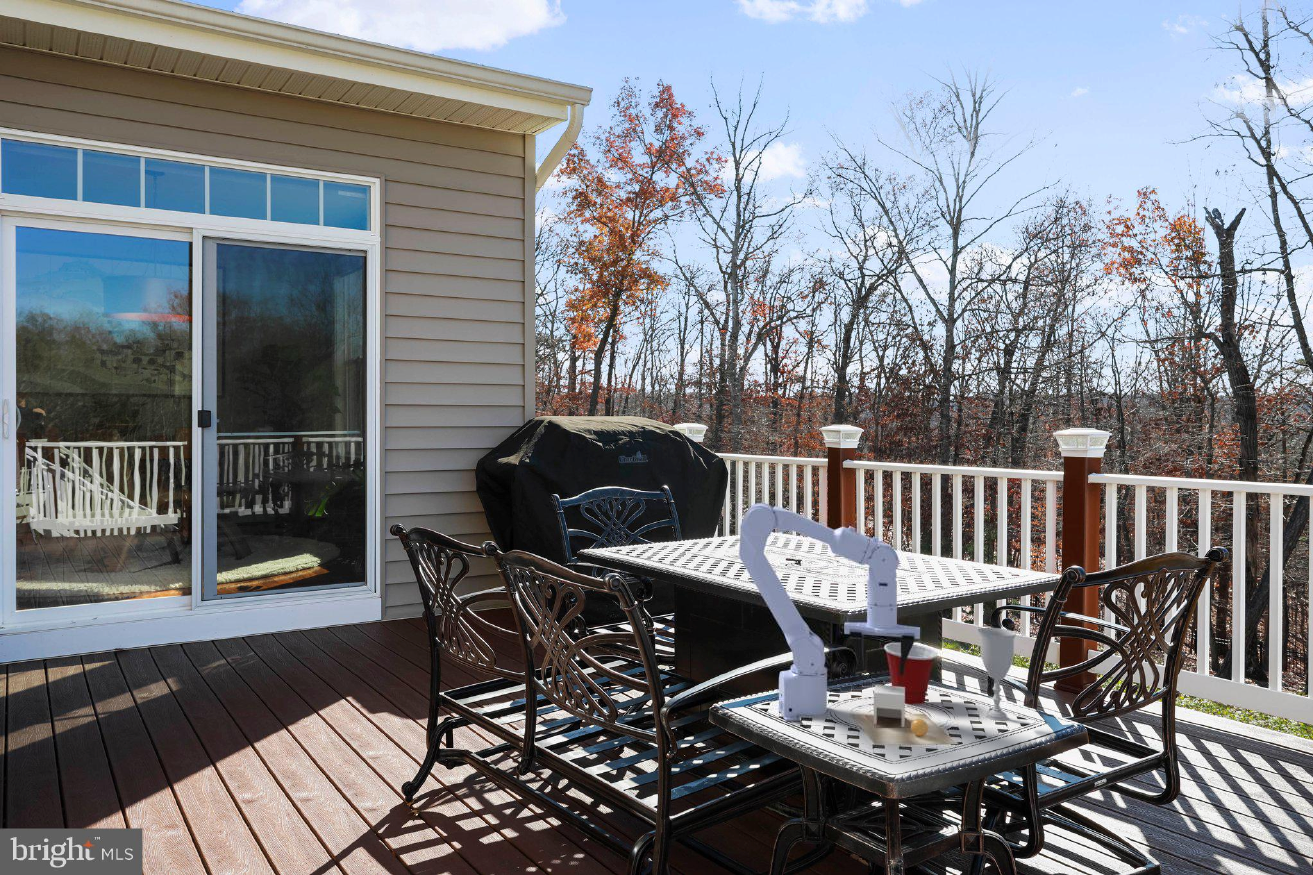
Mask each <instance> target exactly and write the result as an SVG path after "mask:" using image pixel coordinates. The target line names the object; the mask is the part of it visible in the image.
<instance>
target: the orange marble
mask: <svg viewBox="0 0 1313 875" xmlns="http://www.w3.org/2000/svg"><path fill="white" fill-rule="evenodd" d="M911 730H912V732H913V733H914V734H915V735H917V736H923V735H925V734H926V733H927V731H928V726H927V723H926V722H925V721H924V720H922V719H915V720H914V721H913V722H912V723H911Z"/></svg>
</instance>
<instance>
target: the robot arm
mask: <svg viewBox="0 0 1313 875" xmlns="http://www.w3.org/2000/svg"><path fill="white" fill-rule="evenodd" d="M775 528H776V533H784V532H790V531H792V532H795V533H797V534H801V535H803V536H806V537H809V538H811V539H813V540H817V541H819V542H822V543H824V544H827V545H828V546H829V548H830V551H831V553H832V554H834V555H837V556H838V557H841V558H843V559H846V560H849V561H851V562H854V563H856V564H858V565H861V566H864V565H868V579H867V580H866V584H867V590H866V592H867V595H866V596H867V598H866V600H867V601H866V603H867V604H866V611H867V612H866V614H867V616H866V622H845V623H844V624H843V625H844V627H843V628H844V629H843V630H844V634H845V635H849V640H850V643H851V645H852V647H853V650H854V652H855V655H856V658H857V662H858V667H859V672H860V673H861V672H862V673H864V671H865V658H864V657H865V656H864V640H865V639H864V637H865V636H864V635H868V636H881V637H882V636H885V637H896V638H897V637H898V638H900V643H901V663H900V675H904V667H905V663H906V660H907V657H908V655H909V652H910V650H911V648H912V646H913V644H914V645H915V640H920V639H921V627H918V626H909V625H901V624H898V623H897V618H898V617H897V616H898V615H897V614H898V613H897V612H898V610H897V609H898V581H897V569H898V568H899V565H900V560H899V557H898V554H897V551H896V550H895V549H894V548H893V547H892V546H891V545H890V544H889V543H886V542H885V541H883V540H879V538H878V537H875V536H873V537H869V536H868V535H865V534H862V533H859V532H857V531H856V528H855V527H853V526H850V525H849V527H848V528H847V527H845V526H841V527H839V528H836V529H833V528H831V527H828V526H826V525H824V524H821V523H819V522H817V521H815V520H812V519H810V518H808V517H806V516H804V515H802V514H799V513H797V512H794V511H792V510H789V509H785V508H783V507H780V506H772V505H770V504H769V503H766V502H757V503H754V504H753V505H752V506H751V507H750V508H749V509H747V511H746V513H745V514H744V516H743V519H742V521H741V523H740V527H739V529H740V530H739V531H740V532H739V536H740V537H739V549H738V550H739V551H738V552H739V553H738V557H739V559H740V561H741V562H742V564H743V567H745V569H746V571H747V573H748V574H749V576H750V577H751V580H752V581H753V583H754V584H755V586H756V588H757V589H758V592H759V593H760V595H761V597H762V598H763V600H764V601H765V603H766V606H767V607H768V609H769V610H770V612H771V613H772V616H773V617H774V619H775V621H776V623H777V624H778V626H779V627H780V628H781V630H782V633H783V634H784V637H785V640H786V642H787V645H788V646H789V648H790V650H791V653H792V660H793V664H792V665H790V669H788V670H783V671H780V672H779V676H778V708H777V709H778V710H779V712H780V714H781V716H782V718H783V719H784V721H787V722H789V721H800V722H801V721H802V720H801V718H800V717H799V715H805V716H818V715H823V714H825V713H826V712H827V709H828V707H827V706H828V704H827V703H828V702H827V701H828V695H827V694H828V680H827V679H828V669H827V667H825V663H826V655H825V646H824V641H823V640H822V639H821V638H820V637H819V635H817V634H816V633H814V632H813V631H812V629H810V627H809V625H808V624H807V623H806V622H805V620H804V619H803V617H802V616H801V614H800V613H799V611H798V609H797V607H796V606H795V604H794V602H793V601H792V599H791V596H790V595H789V594H788V592H787V591H786V589H785V587H784V585H783V584H782V582H781V580H780V579H779V577H778V575H777V574H776V572H775V570H774V568H773V566H772V564H771V563H770V561H769V559H768V558H767V556H766V555H765V550H766V549H765V548H766V545H767V541H768V538H769V537H770V536H771V534H772V532H773V531H774V530H775Z"/></svg>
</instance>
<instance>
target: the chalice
mask: <svg viewBox="0 0 1313 875" xmlns="http://www.w3.org/2000/svg"><path fill="white" fill-rule="evenodd" d="M977 631H978V634H979V635H980V657H981V660H982V663H983V666H984V668H985V670H986V672H987V674H988V676H989V677H990V678H991V679H993V687H992V688H991V689H992V691H993V693H994V695H993V697H992V700H993V703H994V705H993V707H992V709H989V710H988V711H987V712H986V715H985V717H986V719H989V720H992V721H999V722H1006V721H1008V720H1009V718H1008V714H1007V713H1006V712H1005V711H1004V710H1002V709H1001V707H1000V703H1001V701H1002V698H1001V696H1000V692H1001V691H1002V688H1001V685H1000V683H1001V682H1000V681H1001V680H1003V679H1005V678H1006V676H1007V674H1008V673H1009V670H1010V669H1011V666H1012V663H1013V662H1014V651H1015V650H1014V647H1015V646H1014V639H1015V638H1016V635H1017V632H1015V631H1013V630H1010V629H1007V628H1005V629H1004V628H999V627H981V628H979V629H977Z"/></svg>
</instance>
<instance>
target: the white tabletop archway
mask: <svg viewBox="0 0 1313 875" xmlns="http://www.w3.org/2000/svg"><path fill="white" fill-rule="evenodd" d="M873 714H874V724H877V718H878V716H881V717H892V718H902V727H904V724H905V714H906V703H905V687H897V686H892V685H884V684H883V685H881V684H875V685H874V691H873Z"/></svg>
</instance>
